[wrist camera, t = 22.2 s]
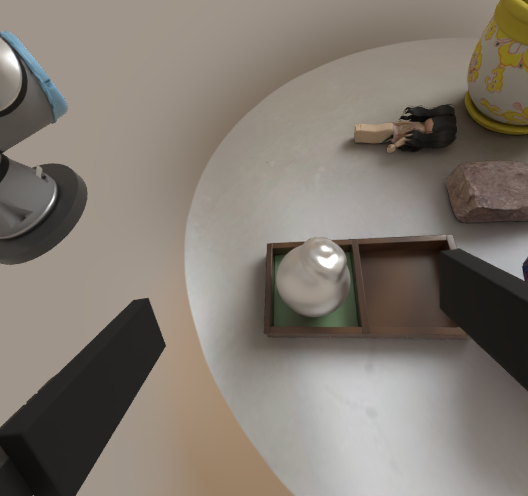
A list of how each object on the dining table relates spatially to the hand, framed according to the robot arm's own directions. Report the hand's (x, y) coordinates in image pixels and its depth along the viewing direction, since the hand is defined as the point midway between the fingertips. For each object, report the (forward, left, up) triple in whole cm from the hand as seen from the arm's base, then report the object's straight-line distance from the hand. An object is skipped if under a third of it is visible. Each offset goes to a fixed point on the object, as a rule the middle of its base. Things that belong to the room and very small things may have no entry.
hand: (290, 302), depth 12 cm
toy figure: (+17, +34, -25) cm, 45 cm away
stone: (+27, +21, -25) cm, 42 cm away
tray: (+7, +8, -25) cm, 27 cm away
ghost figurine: (+1, +8, -24) cm, 26 cm away
